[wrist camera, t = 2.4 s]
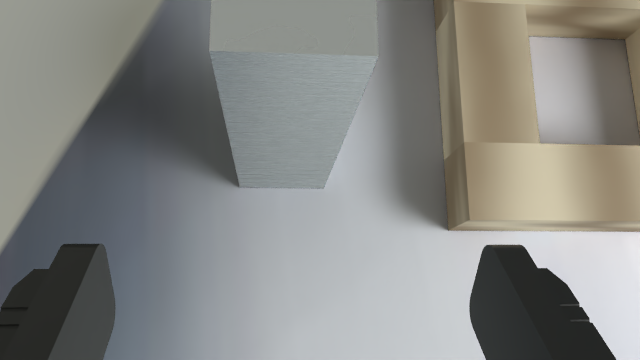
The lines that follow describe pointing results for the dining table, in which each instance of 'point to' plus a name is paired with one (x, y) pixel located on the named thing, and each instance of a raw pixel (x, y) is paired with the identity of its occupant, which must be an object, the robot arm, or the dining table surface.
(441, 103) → the well block
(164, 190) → the dining table surface
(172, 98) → the dining table surface
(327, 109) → the plain gray rectangular block
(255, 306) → the dining table surface
